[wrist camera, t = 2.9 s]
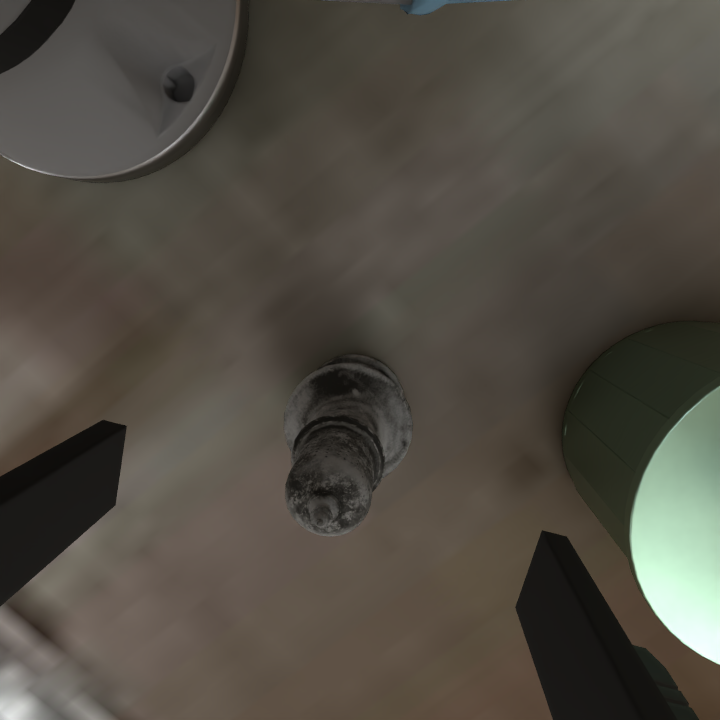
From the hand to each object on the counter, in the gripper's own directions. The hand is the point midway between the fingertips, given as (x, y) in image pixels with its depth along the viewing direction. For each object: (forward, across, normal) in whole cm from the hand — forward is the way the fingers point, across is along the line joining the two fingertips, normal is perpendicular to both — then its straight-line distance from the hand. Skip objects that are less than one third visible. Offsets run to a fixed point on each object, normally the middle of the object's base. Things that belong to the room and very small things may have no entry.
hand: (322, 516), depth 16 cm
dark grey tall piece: (+11, 0, 0) cm, 11 cm away
